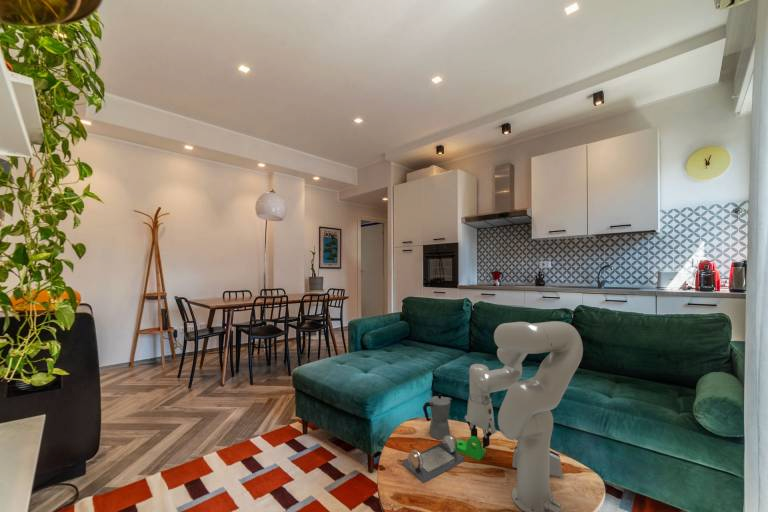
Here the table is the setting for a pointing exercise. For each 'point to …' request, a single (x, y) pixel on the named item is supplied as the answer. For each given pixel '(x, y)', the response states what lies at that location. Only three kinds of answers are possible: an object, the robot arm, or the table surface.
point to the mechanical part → (471, 448)
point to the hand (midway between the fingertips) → (480, 442)
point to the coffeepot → (438, 416)
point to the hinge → (554, 463)
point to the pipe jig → (434, 459)
